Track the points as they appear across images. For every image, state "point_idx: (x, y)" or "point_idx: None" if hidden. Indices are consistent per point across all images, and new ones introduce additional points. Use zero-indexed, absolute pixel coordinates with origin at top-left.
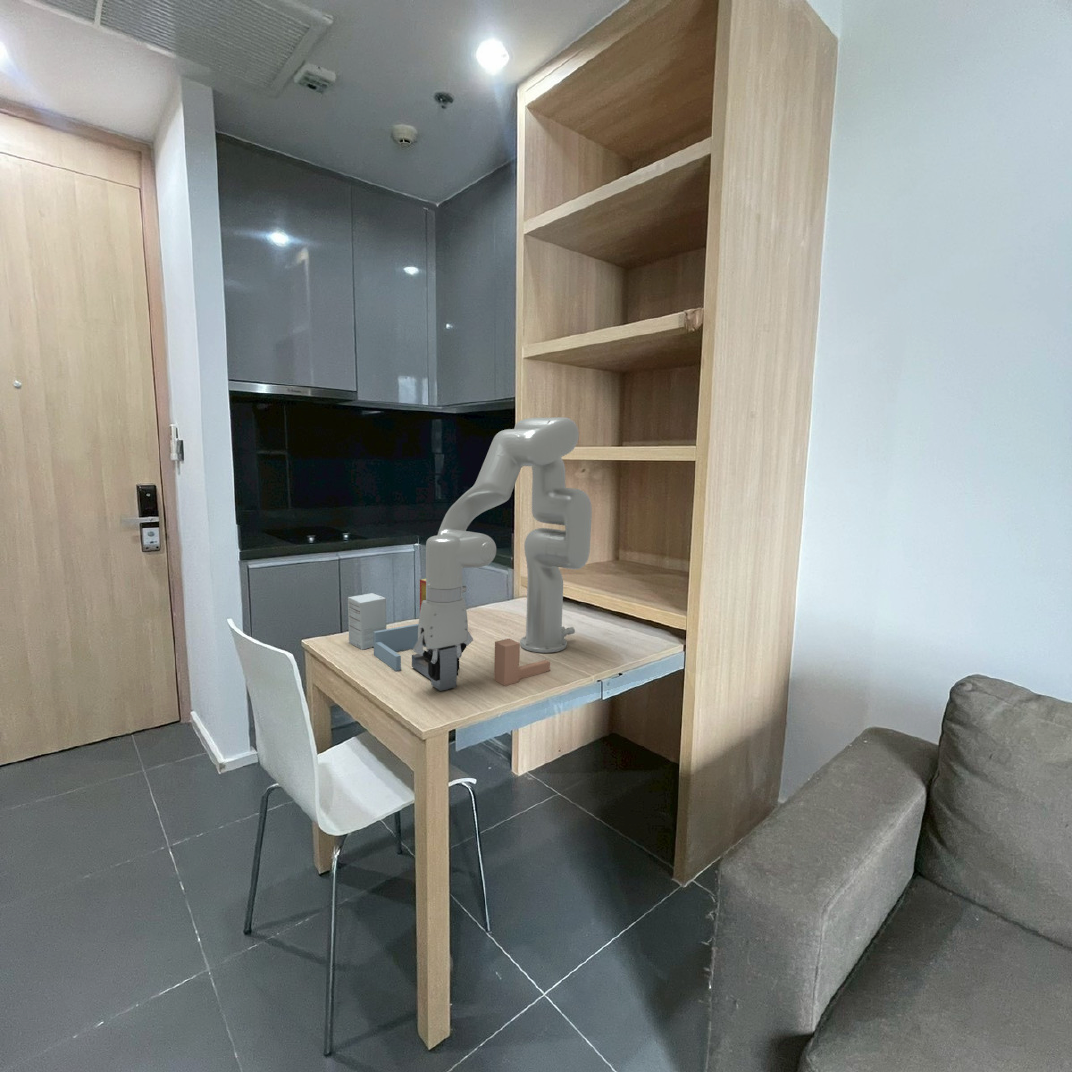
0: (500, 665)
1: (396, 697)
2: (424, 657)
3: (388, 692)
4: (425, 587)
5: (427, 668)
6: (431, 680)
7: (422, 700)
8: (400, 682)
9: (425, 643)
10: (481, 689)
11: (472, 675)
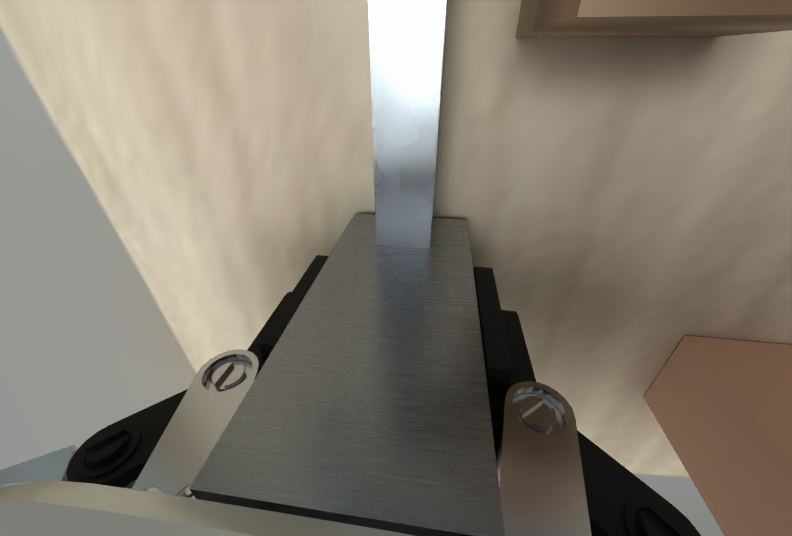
0: (726, 474)
1: (161, 217)
2: (174, 395)
3: (117, 134)
4: None
5: (372, 89)
6: (347, 229)
7: (268, 305)
8: (194, 11)
9: (57, 504)
10: (538, 365)
11: (673, 216)
